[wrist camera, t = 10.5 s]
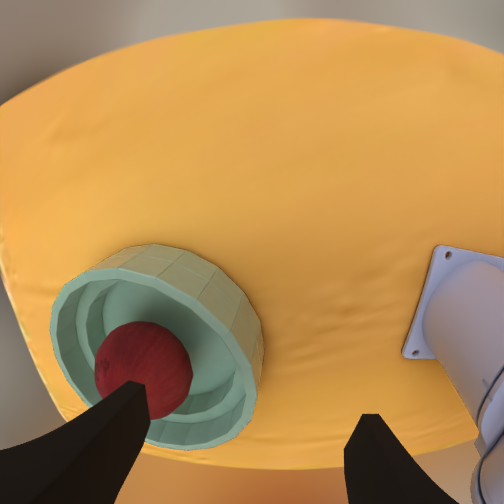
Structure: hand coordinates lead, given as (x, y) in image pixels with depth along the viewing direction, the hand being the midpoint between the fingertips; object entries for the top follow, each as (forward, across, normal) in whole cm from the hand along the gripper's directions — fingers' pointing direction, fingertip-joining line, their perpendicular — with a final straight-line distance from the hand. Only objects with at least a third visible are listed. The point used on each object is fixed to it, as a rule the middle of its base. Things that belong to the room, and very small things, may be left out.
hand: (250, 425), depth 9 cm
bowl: (+10, +6, +4) cm, 12 cm away
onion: (+10, +6, +4) cm, 12 cm away
